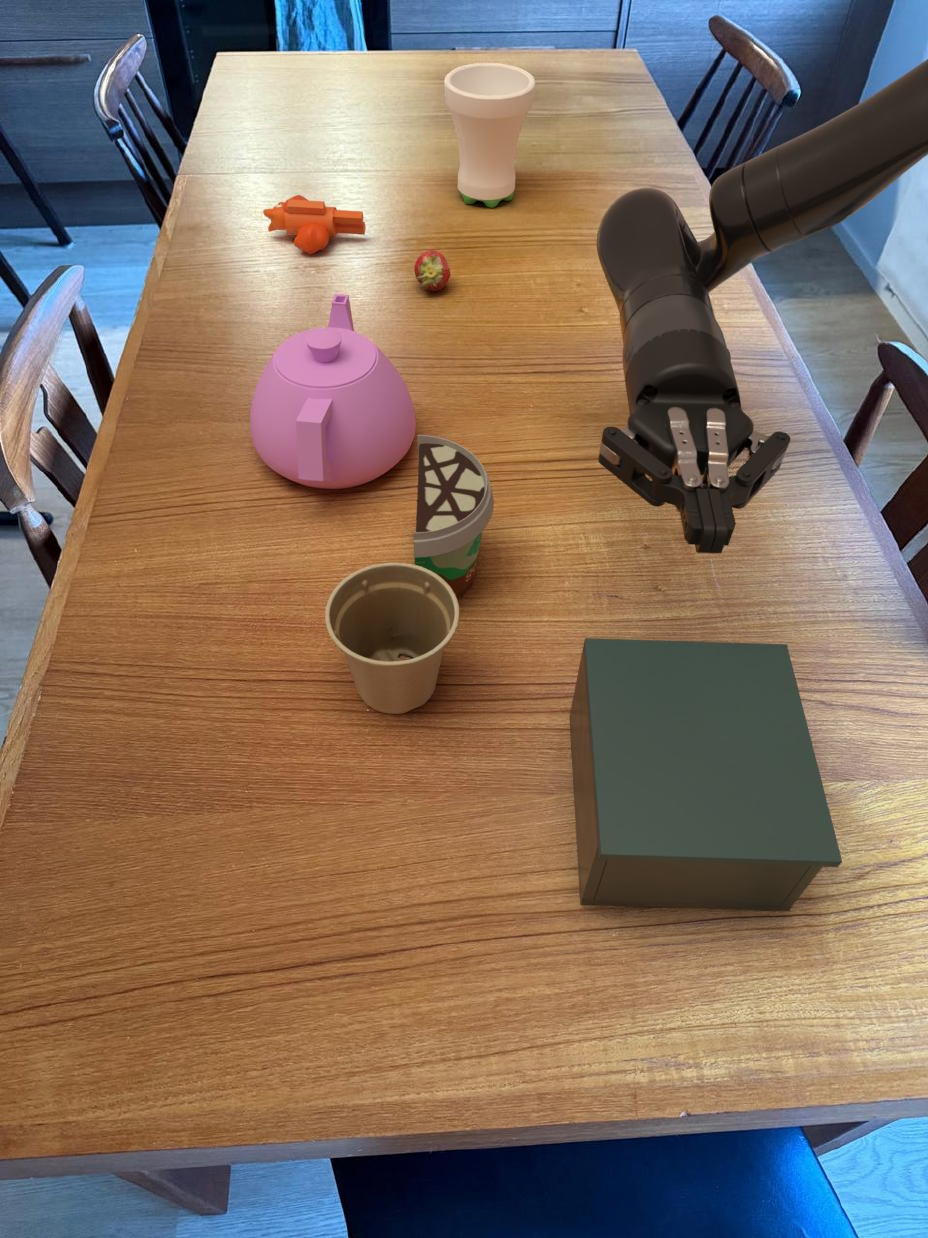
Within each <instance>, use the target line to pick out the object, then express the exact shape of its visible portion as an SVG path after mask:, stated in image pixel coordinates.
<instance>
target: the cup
mask: <svg viewBox="0 0 928 1238" xmlns="http://www.w3.org/2000/svg"><path fill="white" fill-rule="evenodd" d="M443 82H444V86H443V87H444V103H445V106H446V107H447V109H448V110H449V113H450V116H451V119H452V122H453V126H454V130H455V134H456V139H457V144H458V153H459V169H458V173H457V190H458V191H459V192H460V195H461V197H462V198H463V201H464V203H465V204H467V205H473V204H475V203H477V202H478V201H479V202H483V204H484V205H485V206H486V207H487V208H489V209H493V208H496V206H497V205H498V204H499V203H500V201H504V202H505V201H506V202H510V201H512V199H514V195H515V189H516V177H517V176H516V171H515V162H516V153H517V146H518V141H519V138H520V135H521V131H522V129H523V125H524V123H525V120H526V118H527V115H528V113H529V111H531V109H532V107H533V104H534V101H535V91H536V79H535V77H534V76H533V75H532V74H531V73H530V72H528V71H527V70H525V69H523V68H521V67H518V66H515V65H511V64H506V63H500V62H477V63H469V64H465V65H460V66H458V67H455V68H453V69H452V70H451V71H449V72H448V73H447V74H445V77H444V81H443Z"/></svg>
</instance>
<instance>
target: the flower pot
mask: <svg viewBox="0 0 928 1238" xmlns="http://www.w3.org/2000/svg"><path fill="white" fill-rule="evenodd" d="M459 604H460V603H459V601H458V599H457V598H456V596H455V593H454V592H453V590H452V588H451V587H450V586H449V585H448V584H447V583H446V582H445V580H443V579H442V578H441V577H440V576H438V575H437V574H436V573H434V572H432V571H430V570H428V569H426V568H423V567H421V566H417V565H415V564H414V563H408V562H407V563H406V562H397V561H396V562H395V561H390V562H384V563H379V562H378V563H375V564H370V565H367V566H364V567H362V568H360V569H357V570H355V571H353V572H351V573H350V574H348V575H347V576H346V577H344V578H343V579H341V581H340V582H339V583H338V584H337V585H336V587H334V589H333V590H332V591H331V593H330V595H329V597H328V599H327V601H326V604H325V608H324V623H325V627H326V630H327V633H328V635H329V637H330V639H331V641H332V642H333V643H334V645H335V646H336V647H337V648H338V649H339V650H340V651H341V652H342V654H343V655H344V657H345V660H346V663H347V665H348V668H349V671H350V674H351V677H352V679H353V683H354V685H355V690H356V691H357V693H358V695H359V697H360V699H362V701H363V702H364V703H365V705H366V706H368V707H369V708H371V709H372V710H375V711H377V712H380V713H383V714H389V715H400V714H406V713H408V712H410V711H412V710H414V709H417V708H418V707H421V706H424V705H425V704H426V703H427V702H428V701H429V700H430V698H431V697H432V696H433V694H434V692H435V690H436V686H437V682H438V676H439V672H440V667H441V663H442V659H443V655H444V651H445V649H446V647H447V646H448V644H449V643H450V641H451V640H452V638H453V637H454V635H455V633H456V631H457V629H458V626H459V622H460V605H459ZM400 655H404V656H407V657H409V659H404V658H401V657H400V658H399V656H400Z"/></svg>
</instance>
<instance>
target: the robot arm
mask: <svg viewBox="0 0 928 1238" xmlns="http://www.w3.org/2000/svg"><path fill="white" fill-rule="evenodd" d="M926 156H928V58H926V59H925V60H924V61H922V62H921V63H919V64H918V65H917V66H915V67H914V68H912V69H911V70H909V71H907V72H905V73H904V74H903V75H901V76H900V77H898V78H897V79H895V80H894V81H892V82H891V83H889V84H888V85H886V86H885V87H883V88H882V89H880V90H879V91H877V92H875V93H874V94H872V95H870V96H869V97H868V98H866V99H865V100H862V101H861V102H859V103H858V104H856V105H854V106H853V107H851V108H849V109H847V110H845V111H844V112H842V113H841V114H839V115H837V116H835V117H833V118H831V119H829V120H828V121H826V122H823V123H822V124H820V125H818V126H817V127H814V128H812V129H810V130H808V131H806V132H805V133H802V134H801V135H799V136H798V135H797V136H796V137H794V138H792V139H790V140H788V141H785V142H783V143H781V144H779V145H777V146H776V147H773V148H771V149H769V150H767V151H765V152H763V153H761V154H759V155H757V156H755V157H753V158H750V159H748V160H747V161H744V162H743V163H741V164H739V165H736V166H735V167H732V168H731V169H729V170H727V171H726V172H724V173H722V174H721V175H719V176H718V177H717V178H716V179H715V180H714V181H713V183H712V185H711V188H710V190H709V196H708V207H709V213H710V214H709V215H710V220H711V224H712V228H713V232H712V234H710V235H708V237H706V238H704V239H703V240H700V241H698V240H697V239H696V237H695V235H694V233H693V231H692V230H691V228H690V226H689V224H688V223H687V220H686V219H685V217H684V215H683V214H682V213H683V212H682V211H681V209H680V208H679V206H678V205H677V203H676V201H675V200H674V199H673V198H672V197H671V196H670V195H669V194H668V193H666V192H664V191H662V190H660V189H657V188H653V187H642V188H637V189H633V190H630V191H628V192H626V193H624V194H622V195H621V196H619V198H617V199H616V200H615V201H614V202H613V203H611V204H610V206H609V207H608V208H607V210H606V211H605V213H604V215H603V216H602V218H601V221H600V223H599V226H598V230H597V234H596V251H597V252H596V253H597V257H598V260H599V263H600V266H601V269H602V272H603V274H604V277H605V280H606V282H607V284H608V287H609V289H610V292H611V294H612V296H613V299H614V301H615V304H616V307H617V310H618V313H619V326H620V332H621V338H622V339H621V340H622V353H621V354H622V356H621V357H622V360H621V361H622V369H623V376H624V377H623V378H624V383H625V391H626V398H627V406H628V412H629V416H628V418H627V426H626V427H624V428H621V429H620V428H618V427H616V426H607V427H605V428H603V431H602V436H601V439H600V444H599V453H598V460H597V461H598V463H599V464H600V465H601V467H604V468H605V469H606V470H607V471H609V472H610V473H611V474H612V475H613V476H615V477H616V478H617V479H618V480H620V481H621V482H622V483H623V484H624V485H626V486H627V487H628V488H629V489H631V490H632V491H633V492H634V493H636V494H637V495H638V496H639V497H641V498H642V499H643V500H644V501H646V502H647V503H648V504H649V505H651V506H653V507H662V506H664V505H665V504H669V505H672V506H674V507H675V510H676V511H677V512H678V513H679V517H680V521H681V526H682V531H683V532H682V533H683V539H684V540H685V541H686V543H687V544H688V545H694V550H695V553H697V554H718V555H719V554H722V552H723V549H724V547H725V546H729V545H730V542H731V539H732V536H733V533H734V531H735V528H736V524H737V523H736V518H735V515H734V510H733V509H738V510H741V509H744V508H745V507H746V506H747V505H748V504H749V503H750V502H751V500H753V499H754V498H755V496H756V495H757V494H758V493H759V492H760V491H761V489H763V487H765V486H766V484H767V483H768V482H769V481H770V480H771V479H772V478H773V476H775V474H777V472H779V470H780V469H781V466H782V463H783V460H784V458H785V455H786V453H787V450H788V448H789V445H790V442H791V436H790V435H789V434H788V433H786V432H784V431H775V432H773V433H772V434H771V435H770V436H767V435H766V434H763V433H761V432H759V431H757V430H754V428H755V426H754V422H753V420H752V418H751V417H750V416H748V415H747V414H746V412H744V410H743V408H742V401H741V395H740V390H739V386H738V384H737V379H736V375H735V373H734V371H735V370H734V368H733V364H732V357H731V352H730V349H729V348H728V345H727V342H726V340H725V336H724V333H723V331H722V328H721V326H720V324H719V322H718V321H717V318H716V314H715V311H714V307H713V303H712V301H711V298H710V294H709V293H711V292H713V290H715V289H716V288H718V287H719V286H721V285H722V284H723V283H724V282H726V281H728V280H729V279H730V278H732V277H734V276H735V275H736V274H737V273H739V272H740V271H742V270H743V269H744V268H746V267H748V266H749V265H751V264H752V263H753V262H754V261H756V260H758V259H760V258H762V257H764V256H767V255H769V254H771V253H774V252H776V251H779V250H781V249H783V248H786V247H789V246H790V245H793V244H796V243H797V242H800V241H804V240H805V239H807V238H810V237H813V236H815V235H818V234H821V233H822V232H824V231H827V230H828V229H830V228H833V227H834V226H836V225H838V224H839V223H842V222H843V221H845V220H847V219H848V218H850V217H852V216H853V215H855V214H856V213H858V212H859V211H860V210H862V209H864V207H866V206H867V205H868V204H869V203H871V202H872V201H873V200H875V199H876V198H877V197H878V196H880V194H881V193H883V192H884V191H885V190H886V189H887V188H889V187H890V186H891V185H892V184H894V182H895V181H897V180H898V179H899V178H900V177H901V176H902V175H904V174H905V173H906V172H908V171H909V170H910V169H911V168H912V167H914V166H915V165H916V164H918V163H919V162H920V161H921V160H922V159H924V158H926ZM745 449H746V450H747V451H748V453H747V457H746V458H747V459H746V461H745V462H744V463H743V464H742V465H741V467H739V468H738V470H737V471H736V473H735V475H729V467H730V466H731V465H732V464H733V463H734V462H735V460H736V459H737V458H738V457H739V456H740V454H741V453H743V452H744V450H745ZM646 475H647V476H648V477H647V476H646Z"/></svg>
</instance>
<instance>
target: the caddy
mask: <svg viewBox="0 0 928 1238" xmlns="http://www.w3.org/2000/svg"><path fill="white" fill-rule="evenodd" d="M576 677H577V678H576V681H575V687H574V692H573V696H572V702H571V707H570V712H569V733H570V750H571V765H572V767H571V768H572V785H573V801H574V802H573V803H574V818H575V835H576V836H575V838H576V852H577V853H576V855H577V871H578V872H577V875H578V891H579V904H580V905H581V906H609V907H610V906H611V907H612V906H613V907H640V908H641V907H642V908H643V907H644V908H673V909H676V908H677V909H703V910H706V909H708V910H709V909H710V910H738V911H739V910H741V911H768V912H770V911H771V912H790V910H791V909H793V906H794V905H795V904H796V902H797V901H798V900H799V898H800V897H801V896H802V894H803V893H804V892H805V891H806V889H807V888H808V887H809V886H810V884H811V883H812V882H813V881H814V879H815V878H816V876H817V875H818V874H819V872H821V870H822V869H823V867H809V866H777V865H745V864H714V863H682V862H650V861H618V860H600V859H599V850H598V837H597V823H596V809H595V796H594V782H593V768H592V755H591V741H590V727H589V714H588V700H587V686H586V673H585V659H584V645H583V646H582V650H581V656H580V659H579V666H578V671H577V675H576Z"/></svg>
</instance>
